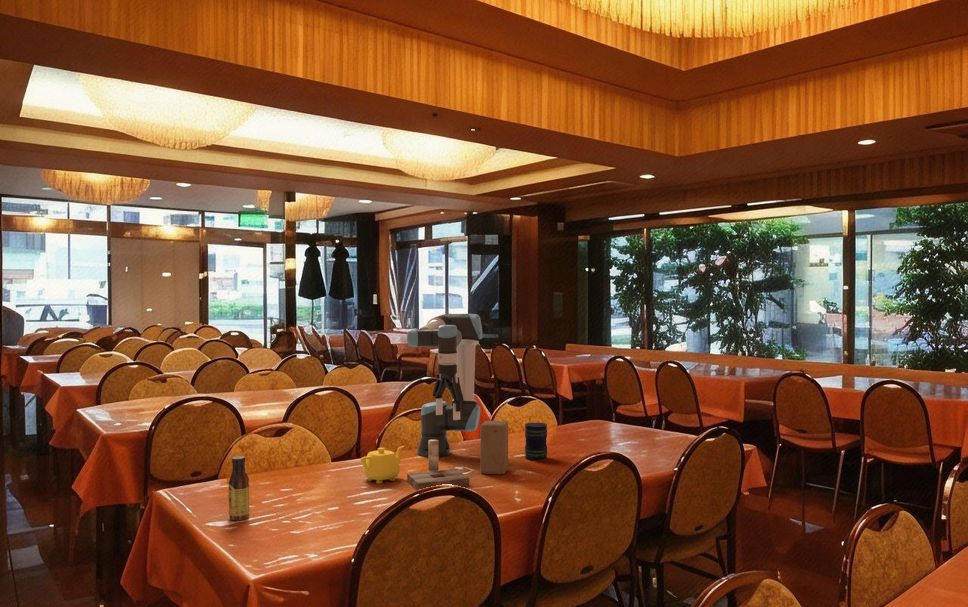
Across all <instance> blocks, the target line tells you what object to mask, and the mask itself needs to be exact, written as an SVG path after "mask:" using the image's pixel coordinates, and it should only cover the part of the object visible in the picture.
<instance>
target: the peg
mask: <svg viewBox="0 0 968 607" xmlns="http://www.w3.org/2000/svg"><path fill="white" fill-rule="evenodd" d="M439 457H440V456H439V442H438V440H429V441H428V459H427V460H428V472H430V471H440V470H439V468H440V467H439V465H440V464H439Z"/></svg>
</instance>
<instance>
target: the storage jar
mask: <svg viewBox="0 0 968 607" xmlns="http://www.w3.org/2000/svg"><path fill="white" fill-rule="evenodd" d="M524 438H525V445H524V455H525V456H524V458H525V460H527V461H533V462H538V461H539V462H541V461H546V460H547V459H548V446H547V438H548V424H547V423H543V422H528V423H527V422H526V423H525V424H524Z"/></svg>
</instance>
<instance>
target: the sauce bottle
mask: <svg viewBox="0 0 968 607" xmlns="http://www.w3.org/2000/svg"><path fill="white" fill-rule="evenodd" d="M245 462H246V456H243V455H236V456H233V457H232V458H231V463H232V470H231V474H230V477H229V480H228V515H229V519H230V520H231V521H244V520H246V519H248V518H249V517H250V484H249V482H250V481H249V480H250V479H249V475H248V474H247V472H246V468H245V467H246V466H245V465H246V464H245Z"/></svg>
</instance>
